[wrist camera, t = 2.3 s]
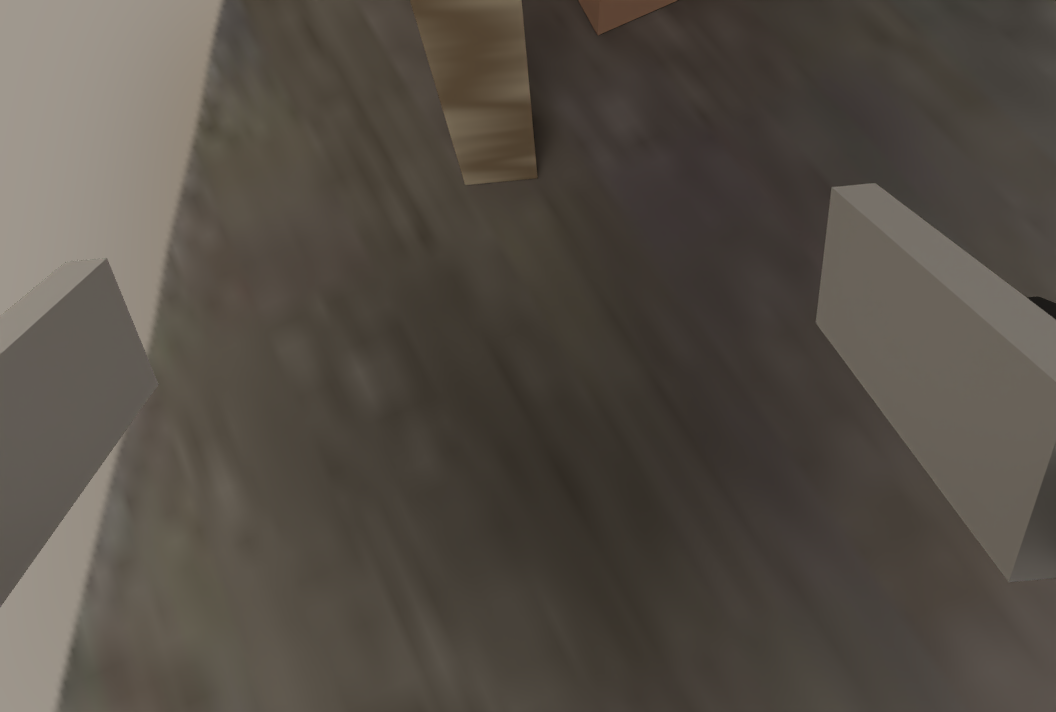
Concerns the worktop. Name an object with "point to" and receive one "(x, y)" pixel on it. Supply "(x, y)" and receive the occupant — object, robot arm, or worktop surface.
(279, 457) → the worktop surface
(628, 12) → the orange-brown square frame
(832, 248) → the robot arm
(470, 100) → the beige tall square post
